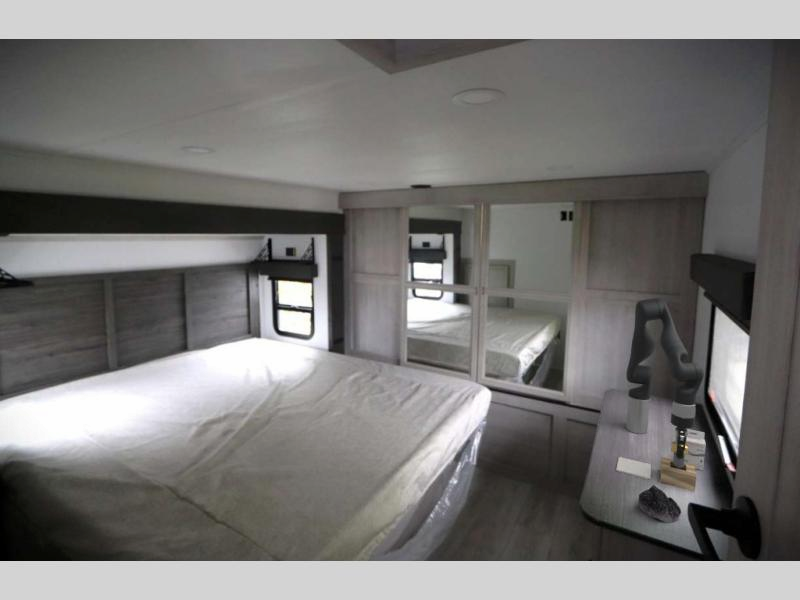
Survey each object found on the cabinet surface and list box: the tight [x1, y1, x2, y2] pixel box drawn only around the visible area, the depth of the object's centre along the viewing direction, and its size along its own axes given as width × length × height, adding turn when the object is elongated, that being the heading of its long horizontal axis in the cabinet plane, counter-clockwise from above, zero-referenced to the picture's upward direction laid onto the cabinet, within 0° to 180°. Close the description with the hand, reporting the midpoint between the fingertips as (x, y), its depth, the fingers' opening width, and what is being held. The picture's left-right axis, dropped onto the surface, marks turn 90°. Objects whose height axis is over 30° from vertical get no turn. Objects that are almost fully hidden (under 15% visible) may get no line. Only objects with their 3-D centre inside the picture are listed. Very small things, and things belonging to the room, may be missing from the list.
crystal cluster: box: [638, 484, 682, 523], centre depth 145 cm, size 13×14×10 cm
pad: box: [615, 456, 652, 480], centre depth 173 cm, size 12×12×1 cm
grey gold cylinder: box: [670, 440, 689, 470], centre depth 163 cm, size 6×6×15 cm
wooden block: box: [659, 456, 697, 493], centre depth 163 cm, size 11×11×6 cm
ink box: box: [684, 428, 707, 471], centre depth 173 cm, size 9×5×15 cm, turn 59°
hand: (679, 454), depth 162 cm, fingers open, 5 cm apart
